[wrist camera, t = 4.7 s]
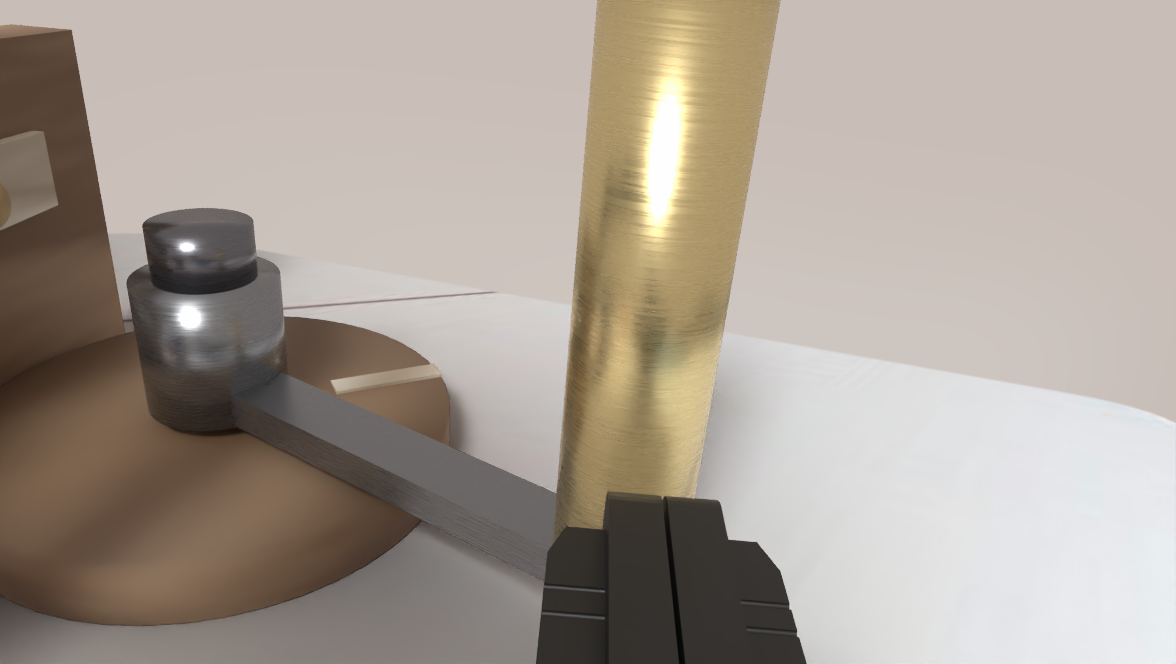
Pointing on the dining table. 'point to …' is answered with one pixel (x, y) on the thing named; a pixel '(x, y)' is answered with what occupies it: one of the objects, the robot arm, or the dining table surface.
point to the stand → (122, 420)
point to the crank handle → (599, 308)
